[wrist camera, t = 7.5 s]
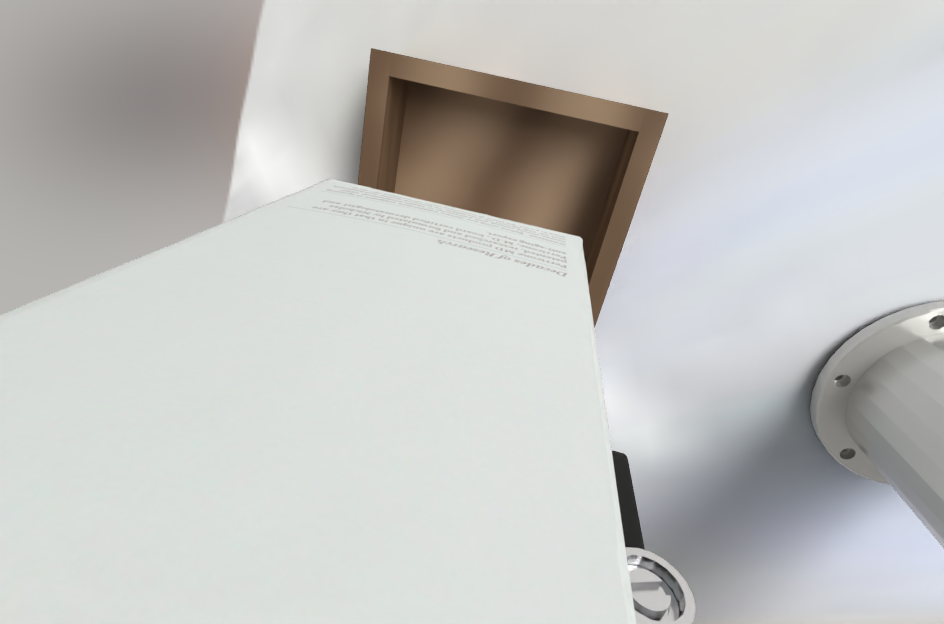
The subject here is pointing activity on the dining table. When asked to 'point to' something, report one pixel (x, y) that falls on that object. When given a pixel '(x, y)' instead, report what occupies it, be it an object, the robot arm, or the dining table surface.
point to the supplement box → (315, 428)
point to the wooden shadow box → (510, 152)
